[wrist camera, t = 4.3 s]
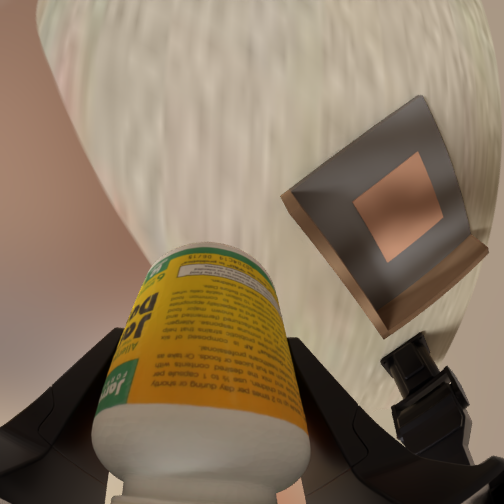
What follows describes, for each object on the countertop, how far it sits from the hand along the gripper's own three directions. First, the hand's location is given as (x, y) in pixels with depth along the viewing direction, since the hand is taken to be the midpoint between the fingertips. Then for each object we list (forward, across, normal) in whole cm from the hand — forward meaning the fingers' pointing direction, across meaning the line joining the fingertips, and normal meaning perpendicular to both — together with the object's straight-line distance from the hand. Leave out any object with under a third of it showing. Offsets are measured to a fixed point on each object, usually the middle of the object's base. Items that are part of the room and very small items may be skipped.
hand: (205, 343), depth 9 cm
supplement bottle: (+3, 0, 0) cm, 3 cm away
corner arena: (+12, -15, -1) cm, 19 cm away
